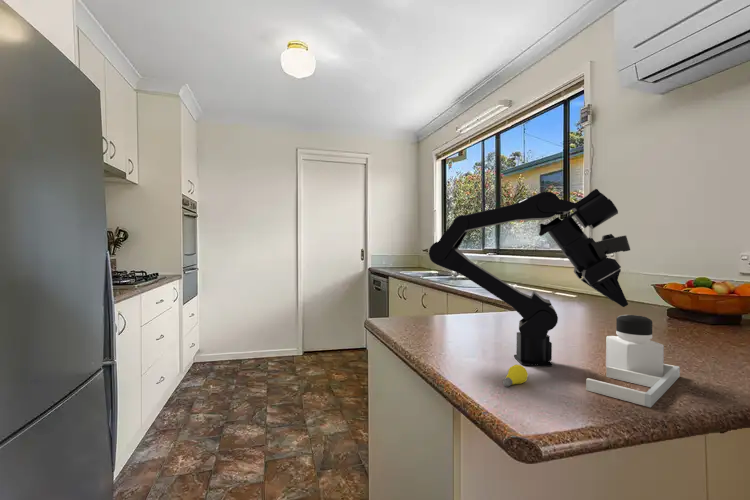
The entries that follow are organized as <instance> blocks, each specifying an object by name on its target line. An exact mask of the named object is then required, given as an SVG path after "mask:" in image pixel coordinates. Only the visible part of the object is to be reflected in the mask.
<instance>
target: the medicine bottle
mask: <svg viewBox="0 0 750 500" xmlns="http://www.w3.org/2000/svg"><path fill="white" fill-rule="evenodd" d="M615 324H616V325H615V326H616V329H615V331H616V335H607V336H606V338H605V339H606V342H605V343H606V344H605V368H606V367H607V366H610V367H614V368H619V369H624V370H628V371H633V372H638V373H642V374H647V375H651V376H656V377H661V378H662V377H663V376H664V364H665V363H664V360H665V355H664V354H665V347H664V344H662V343H659V342H658V341H654V340H652V339H653V321H652V319H650V318H649V317H646V316H643V315H636V314H635V315H634V314H621V315H619V316H617V317H616V323H615Z"/></svg>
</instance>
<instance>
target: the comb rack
mask: <svg viewBox="0 0 750 500" xmlns="http://www.w3.org/2000/svg"><path fill="white" fill-rule="evenodd" d="M605 368H606V369H605V371H606V372H605V373H606V375H605V376H606V377H605V378H609V379H614V380H618V381H622V382H626V383H627V382H628V383H632V384H635V385H640V386H644V387H647V388H649V389H648V390H647V391H642V390H637V389H633V388H629V387H625V386H622V385H617V384H614V383H609V382H605V381H601V380H597V379H594V378H589V377H588V378H586V380H585V391H588V392H592V393H595V394H599V395H603V396H607V397H610V398H615V399H617V400H622V401H625V402H629V403H632V404H636V405H640V406H644V407H647V408H652V407H653V406H654V405H655V404H656V402H658V400H659V399H660V398H661V397H662V396H663V395H664V394H665V393H666V392H667V391H668V390H669V389H670V387H671V386H672V385H673V384H674V383H675V382H676V381H677V380H678V379H679V378H680V374H681V373H680V371H681V370H680V369H681V368H680V366H678V365H672V364H667V363H664V376H663V377H662V378H661V377H656V376H651V375H647V374H642V373H638V372H633V371H628V370H624V369H619V368H614V367H610V366H607V367H606V366H605Z"/></svg>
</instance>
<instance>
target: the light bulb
mask: <svg viewBox="0 0 750 500" xmlns="http://www.w3.org/2000/svg"><path fill="white" fill-rule="evenodd" d="M528 376H529V373H528V371H527V369H526V367H524V365H522V364H514V365H512V366H510V367H509V368H508V372H507V375H506V376H505V378H504V379H503V380H502V385H503V386H504V387H506V388H509V387H511V386H513V385H521V384H523V383H525V382H526V381H527V380H528Z"/></svg>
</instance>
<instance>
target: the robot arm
mask: <svg viewBox="0 0 750 500" xmlns="http://www.w3.org/2000/svg"><path fill="white" fill-rule="evenodd" d="M571 211H573V212H571ZM569 212H571V214H570V215H568V216H566V217H565V218H563V219H561V218H559V217H558V216H557V215H561V216H562V215H567V214H568V213H569ZM618 214H619V210H618V208H617V206H616V205H615V204H614V202H613V201H612V200H611V199H610V198H608V197H607V196H606V195H605V194H604V193H602V192H600V190H599V189H598V188H595V189H593V190H592V191H590V192H589V193H588V194H587V195H586V196H584V197H583V198H581V199H580V200H578V201H576V202H573V201H569V200H565V199H561V198H560V197H559V196H558V195H556V194H555V193H554V192H552V191H542V192H539V193H536V194H534V195H531V196H528V197H527V198H525V199H523V200H520V201H518V202H515V203H513V204H509V205H503V206H499V207H495V208H491V209H487V210H482V211H478V212H473V213H469V214H461V215H457V216H456V217H455V218H454V220H453V222H452V223H451V225H450V226H449V227H448V228H447V229H446V231H445V232H444V233H443V234H442V236H441V237H440V239H439V240H438V241H435V242H434V243H433V244H432V245H431V246H430V248H429V250H428V256H429V259H430V261H431V262H432V264H435V265H436V266H440V268H441V267H442V268H444V269H446V270H448V271H452V272H454V273H458V274H460V275H461V276H463V277H464V278H466V279H468V280H469V281H472V282H473V283H474V284H475V285H476V286H477V285H478V286H479V287H480V288H481V289H484V290H485V291H487V292H488V293H490V294H492V295H493V296H494V297H496V298H498V299H499V300H500V301H502V302H504V303H506V304H507V305H509V306H510V307H511V308H513V309H514V310H515V311H516V312H517V313H518V314H519V315H520V316H521V317H522V318H521V319H520V320H519V322H518V323H519V324H518V330H519V331H518V332H517V331H516V354H513V357H514V359H515V360H517V361H518V362H519V364H520V365H521V366H546V367H547V366H548V367H552V366H553V362H551V361H552V358H553V357H552V356H553V355H552V354H553V353H552V352H553V343H552V341H550V335H549V334H548V333H549V331H551V330H553V329H554V328H556V326H557V324H558V321H559V317H558V314H557V311H556V310H555V308H554V306H553V305H552V303H551V301H550V299H548V298H547V299H546V298H544V297H542V296H541V295H539V294H538V293H537V292H536V291H535V290H533V291H532V293H531V295H530V294H527V293H524V292H522V291H519V290H518V289H517V288H514V287H513V286H512V285H510V284H508V283H507V282H505V281H503V280H502V279H501V278H499V277H497V276H496V275H494V274H492V273H491V272H489V271H487V270H486V269H485V268H483V267H481V266H479V265H478V264H476V262H475V263H474V262H473V261H471V259H469V258H468V257H467V256H466V255H465V254H464V253H463V252H462V251H461V249H460V246H461V244H462V243H463V240H464V239H465V237H466V235H467V234H468V232H469V231H473V230H478V229H483V228H488V227H492V226H498V225H502V224H506V223H512V222H516V221H520V222H521V221H546V220H549V219H552V218H554V217H555V216H556V217H555V218H554V219H552V220H550V221H549V222H547V223H545V224H544V223H540V224H539V231H538V237H542V236H544V235H546V234H547V233H548V235H549V236H550V237H551V238H552V239H553V242H555V244H556V245H557V246H558V247H559V249H560V250H561V251H562V254H563V255H564V257H566V258H567V259H568V261H569V262H570V263H571V265H572V266H573V273H574V274H575V276H576V277H577V278H578V279H579V280H580V281H581V282H582V283H584V284H585V285H587V286H589V287H590V288H592V289H594V290H595V291H597V292H598V293H600V294H602V295H603V296H604V297H605V298H608V299H609V300H610V301H612V302H614V303H616V304H617V305H619V306H620V307H623V308H625V307H627V306H628V305H629V302H628V300H627V298H626V296H625V294H624V291H623V289H622V287H621V284H620V283H619V276H620V274H621V272H622V271H621V268H622V266H621V265H620V264H619V262H618V261H617V260H616V258H609V257H608V255H610V254H614V253H615V254H616V253H619V252H628V251H631V247H630V243H629V240H628V238H627V235H621V236H620V235H619V236H616V237H615V236H614V235H613V234H612V233H609V234H604V235H602V236H601V240H598V241H595V239H594V238H593V237H588V236H587V234H586V233H585V232H584V230H583V229H582V228H584V229H586V228H588V227H589V228H590V229H592V230H594V229H595V228H597V227H599V226H600V225H602V224H604V223H605V222H607V221H608V220H610V219H611V218H612V217H615V216H616V215H618ZM573 217H574V218H575V219H574V218H573ZM576 221H577V222H578V223H579V224H578V223H577V222H576ZM579 225H580V226H581V227H582V228H581V227H580V226H579Z"/></svg>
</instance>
